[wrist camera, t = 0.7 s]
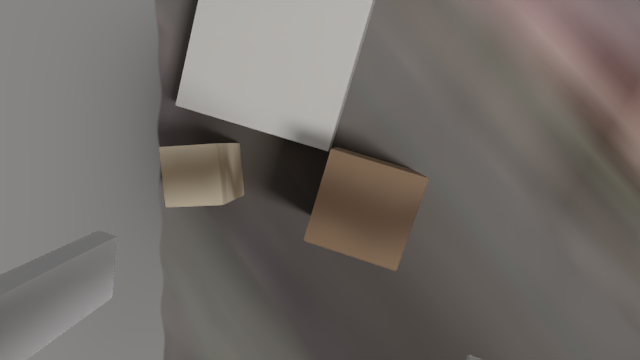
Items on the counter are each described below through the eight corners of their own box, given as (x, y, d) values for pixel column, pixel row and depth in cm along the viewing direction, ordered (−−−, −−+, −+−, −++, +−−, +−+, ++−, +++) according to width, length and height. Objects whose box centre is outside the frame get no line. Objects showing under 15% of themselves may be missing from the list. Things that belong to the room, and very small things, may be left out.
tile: (330, 150, 29) (327, 151, 27) (190, 108, 30) (175, 105, 28) (377, -8, 27) (379, -23, 25) (225, -47, 28) (212, -65, 26)
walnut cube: (387, 240, 30) (396, 271, 23) (316, 217, 30) (303, 240, 23) (412, 169, 29) (428, 178, 22) (337, 146, 29) (330, 148, 22)
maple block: (244, 194, 31) (222, 205, 26) (195, 197, 31) (165, 207, 27) (239, 142, 30) (216, 143, 25) (190, 146, 31) (158, 147, 26)
